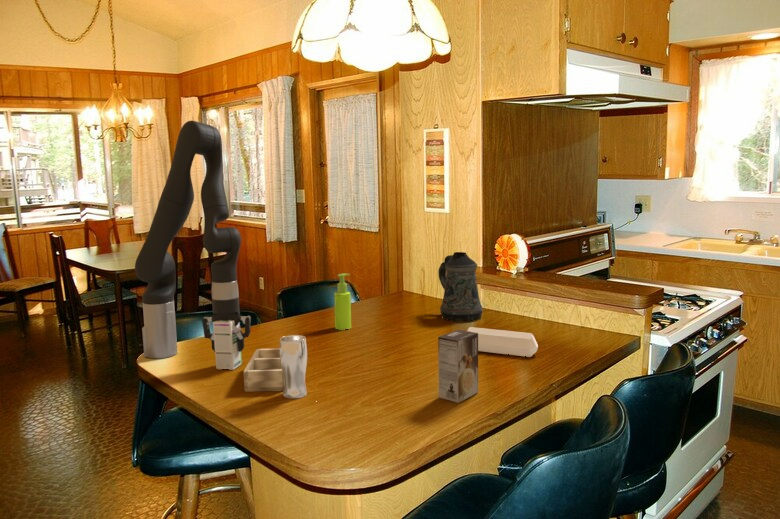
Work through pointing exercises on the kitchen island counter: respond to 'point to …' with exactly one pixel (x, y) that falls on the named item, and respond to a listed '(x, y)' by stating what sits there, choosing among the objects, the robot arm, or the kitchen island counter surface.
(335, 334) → the kitchen island counter surface
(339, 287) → the soap dispenser
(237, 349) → the syrup box
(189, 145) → the robot arm
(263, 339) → the kitchen island counter surface
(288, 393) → the beer glass
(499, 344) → the crystal
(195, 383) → the kitchen island counter surface
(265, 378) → the crate
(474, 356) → the coffee box
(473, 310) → the beer stein
